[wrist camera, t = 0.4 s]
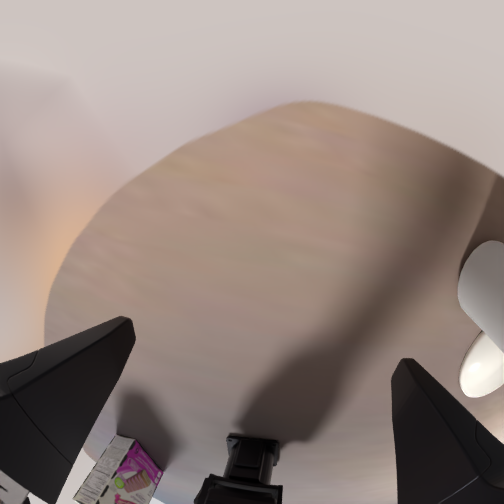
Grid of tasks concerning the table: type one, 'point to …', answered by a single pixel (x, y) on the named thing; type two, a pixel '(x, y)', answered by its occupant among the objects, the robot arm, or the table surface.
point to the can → (485, 289)
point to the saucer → (482, 367)
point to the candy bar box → (121, 476)
